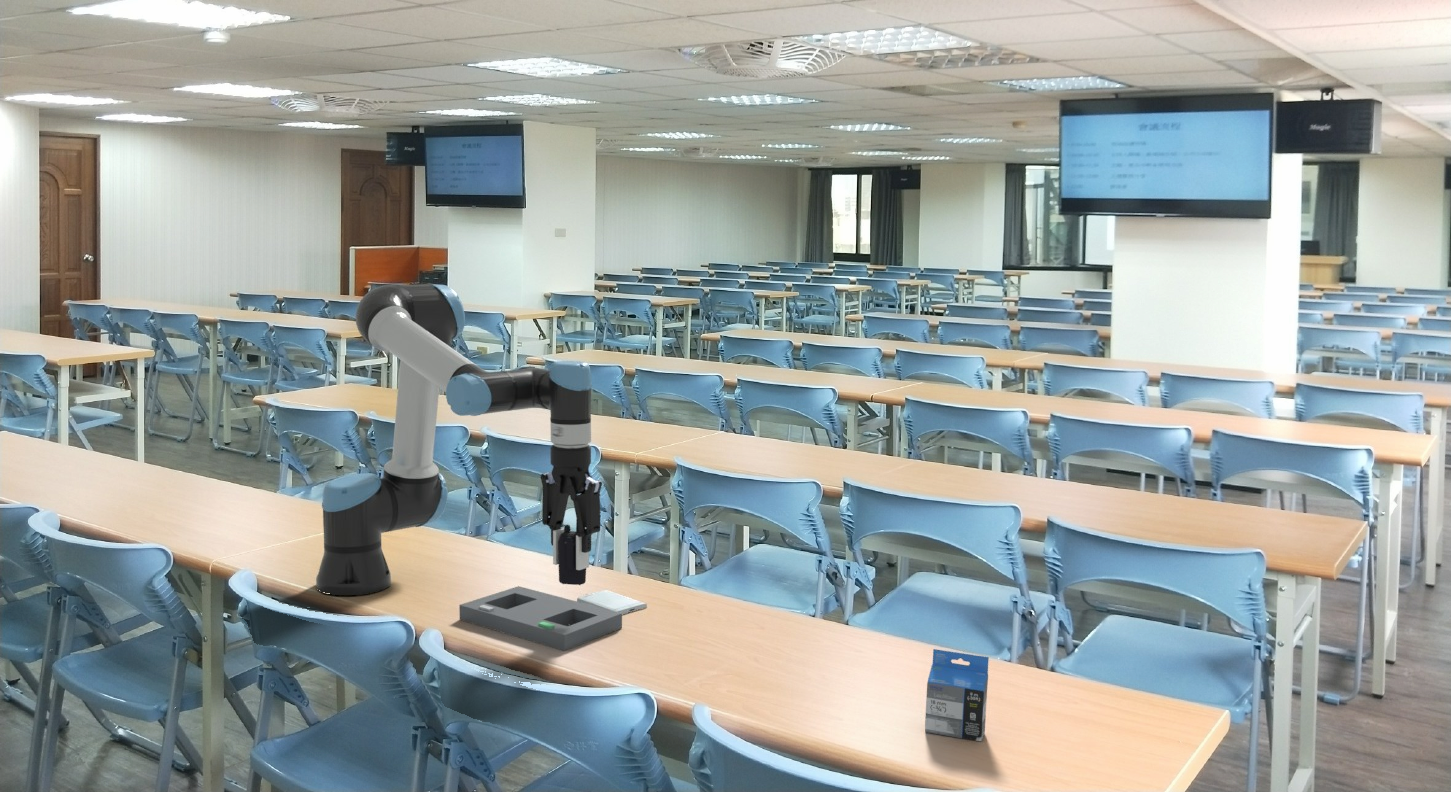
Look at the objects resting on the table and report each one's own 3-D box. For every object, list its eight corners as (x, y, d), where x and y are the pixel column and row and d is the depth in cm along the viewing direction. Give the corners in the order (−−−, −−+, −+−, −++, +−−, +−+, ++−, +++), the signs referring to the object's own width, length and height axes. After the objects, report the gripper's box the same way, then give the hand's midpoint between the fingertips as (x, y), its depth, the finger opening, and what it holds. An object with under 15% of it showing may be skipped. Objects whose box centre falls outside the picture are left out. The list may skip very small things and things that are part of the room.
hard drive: (576, 597, 247) (616, 610, 238) (607, 589, 253) (647, 602, 244) (576, 605, 247) (616, 618, 239) (606, 596, 253) (647, 610, 244)
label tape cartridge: (923, 733, 186) (926, 656, 184) (928, 723, 189) (932, 648, 187) (981, 742, 182) (985, 665, 181) (985, 733, 186) (989, 656, 184)
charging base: (459, 619, 235) (459, 602, 234) (518, 600, 247) (518, 584, 247) (564, 650, 218) (564, 632, 218) (622, 628, 231) (622, 611, 231)
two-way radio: (588, 581, 229) (589, 505, 226) (583, 588, 224) (584, 511, 222) (560, 580, 229) (560, 503, 227) (554, 587, 225) (555, 509, 223)
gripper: (521, 441, 225) (522, 561, 229) (593, 453, 215) (593, 578, 218) (549, 436, 232) (549, 553, 235) (621, 447, 221) (620, 569, 224)
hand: (570, 565), depth 226 cm, fingers closed on two-way radio, 5 cm apart
